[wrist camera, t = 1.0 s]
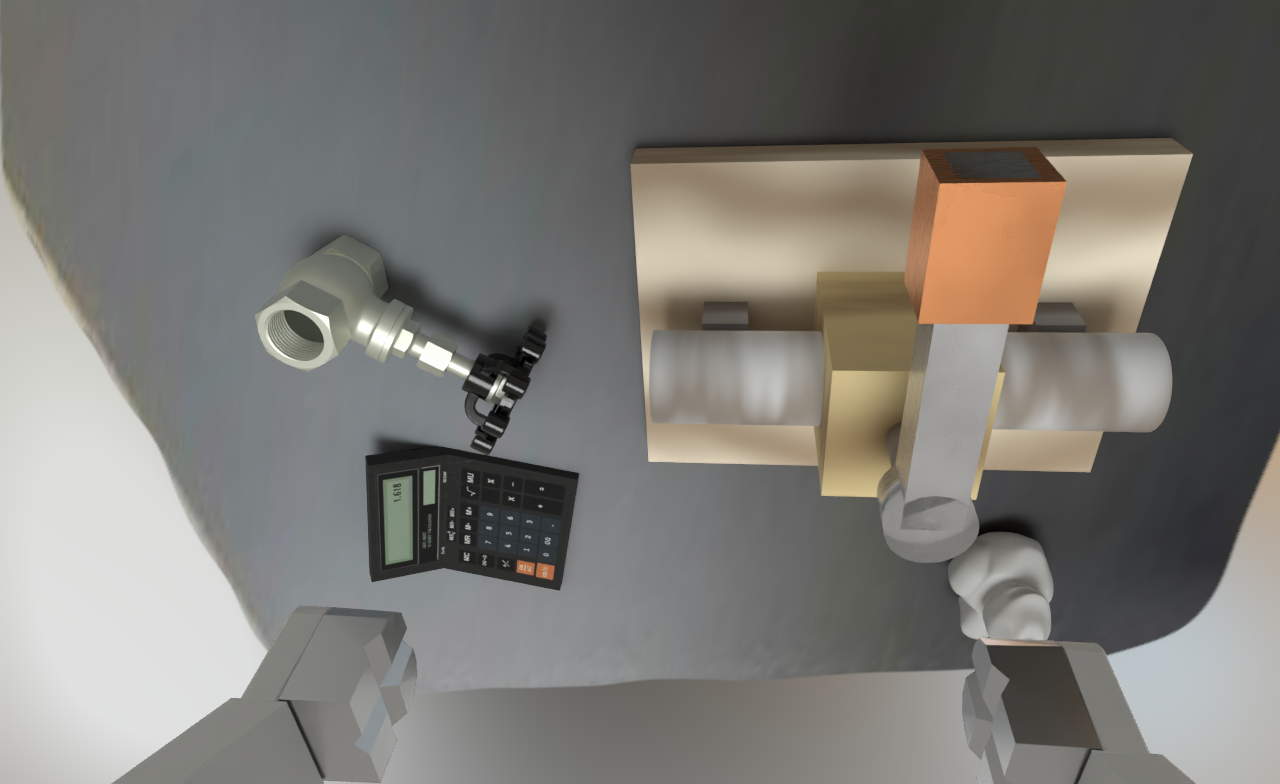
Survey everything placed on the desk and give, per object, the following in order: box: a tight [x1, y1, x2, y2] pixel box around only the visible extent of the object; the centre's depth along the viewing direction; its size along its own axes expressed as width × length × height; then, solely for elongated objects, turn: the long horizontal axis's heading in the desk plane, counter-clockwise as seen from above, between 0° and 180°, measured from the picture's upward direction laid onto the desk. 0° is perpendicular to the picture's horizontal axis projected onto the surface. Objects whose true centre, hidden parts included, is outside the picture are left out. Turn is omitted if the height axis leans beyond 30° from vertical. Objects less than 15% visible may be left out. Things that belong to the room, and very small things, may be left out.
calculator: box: [366, 447, 579, 590], centre depth 49 cm, size 9×12×3 cm
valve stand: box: [630, 138, 1193, 500], centre depth 35 cm, size 16×22×13 cm
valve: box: [255, 235, 547, 455], centre depth 40 cm, size 7×7×12 cm
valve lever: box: [877, 147, 1067, 563], centre depth 25 cm, size 14×3×3 cm, turn 3°
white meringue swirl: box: [948, 532, 1053, 640], centre depth 45 cm, size 5×7×8 cm
